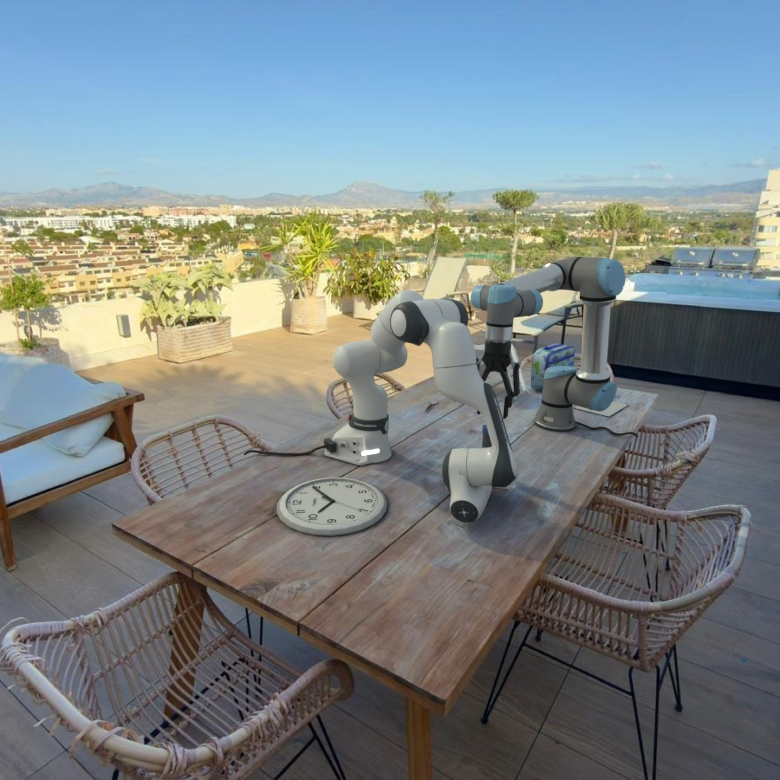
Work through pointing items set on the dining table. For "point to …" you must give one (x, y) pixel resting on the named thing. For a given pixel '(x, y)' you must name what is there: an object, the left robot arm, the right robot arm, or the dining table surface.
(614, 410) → the invitation card
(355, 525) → the wall clock
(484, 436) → the dark grey cylinder
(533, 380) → the lunch box
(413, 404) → the dining table surface
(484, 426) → the lid
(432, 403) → the fork
